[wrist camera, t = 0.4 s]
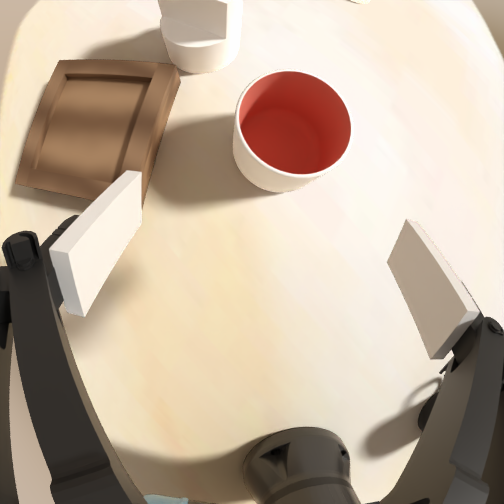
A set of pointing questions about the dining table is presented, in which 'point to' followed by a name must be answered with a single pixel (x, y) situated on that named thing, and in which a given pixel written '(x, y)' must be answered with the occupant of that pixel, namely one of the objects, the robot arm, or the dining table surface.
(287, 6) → the dining table surface
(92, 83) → the walnut base
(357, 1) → the beer glass
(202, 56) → the cylinder with rectangular tab
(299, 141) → the cup
